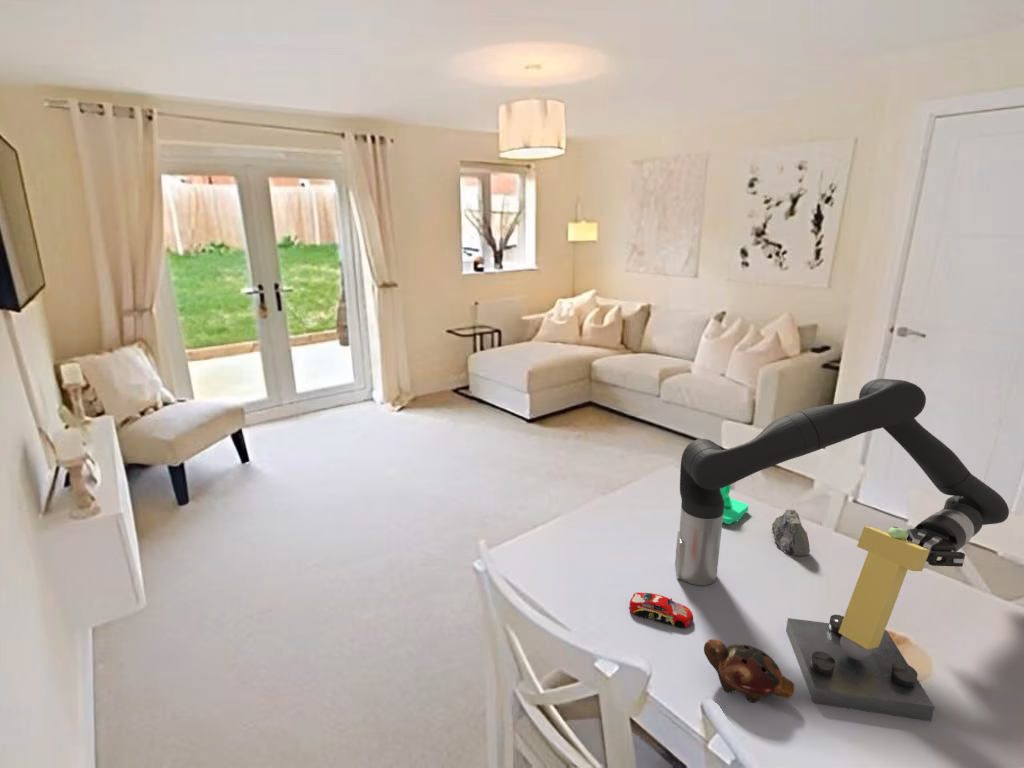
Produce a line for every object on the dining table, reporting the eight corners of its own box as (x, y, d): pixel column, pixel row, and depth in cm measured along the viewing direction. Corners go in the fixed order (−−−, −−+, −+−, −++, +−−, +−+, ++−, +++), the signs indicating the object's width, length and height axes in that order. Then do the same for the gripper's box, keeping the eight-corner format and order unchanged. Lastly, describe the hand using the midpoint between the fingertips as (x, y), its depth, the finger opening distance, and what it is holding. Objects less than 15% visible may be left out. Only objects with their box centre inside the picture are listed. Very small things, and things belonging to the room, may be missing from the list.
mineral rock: (774, 525, 150) (779, 492, 147) (818, 539, 144) (823, 504, 141) (760, 546, 141) (765, 511, 138) (806, 561, 134) (812, 525, 131)
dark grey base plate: (813, 702, 94) (817, 679, 93) (785, 629, 112) (788, 608, 110) (930, 721, 91) (937, 697, 89) (883, 642, 108) (888, 621, 106)
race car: (694, 616, 116) (696, 600, 115) (690, 633, 111) (692, 617, 110) (633, 599, 121) (634, 584, 120) (627, 614, 117) (628, 598, 115)
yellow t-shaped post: (872, 675, 94) (924, 539, 93) (820, 643, 102) (867, 517, 100) (883, 672, 97) (933, 540, 96) (832, 641, 105) (878, 518, 103)
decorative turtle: (700, 657, 105) (707, 622, 102) (786, 685, 99) (796, 648, 97) (696, 693, 96) (704, 656, 94) (791, 727, 90) (801, 687, 88)
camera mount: (728, 528, 149) (732, 494, 146) (703, 517, 155) (706, 485, 152) (748, 513, 157) (752, 480, 154) (723, 503, 162) (727, 472, 159)
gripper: (911, 503, 116) (871, 528, 107) (988, 530, 106) (951, 560, 97) (905, 534, 118) (865, 561, 110) (980, 563, 108) (942, 596, 99)
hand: (905, 560), depth 103 cm, fingers closed
